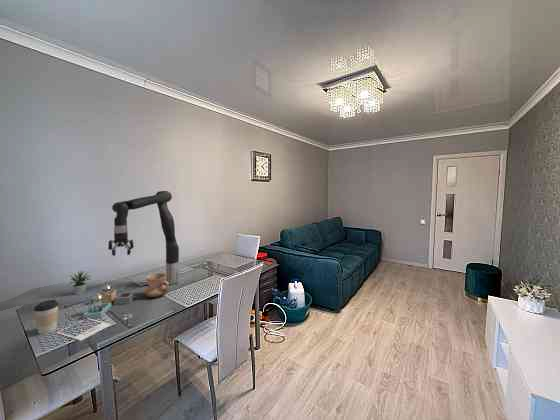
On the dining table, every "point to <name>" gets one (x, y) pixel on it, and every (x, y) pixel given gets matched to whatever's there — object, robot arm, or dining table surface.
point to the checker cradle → (124, 298)
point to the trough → (91, 313)
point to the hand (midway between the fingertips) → (121, 255)
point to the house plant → (79, 282)
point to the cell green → (97, 303)
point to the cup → (108, 297)
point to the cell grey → (106, 289)
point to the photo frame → (88, 332)
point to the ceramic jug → (156, 285)
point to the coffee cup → (46, 316)
